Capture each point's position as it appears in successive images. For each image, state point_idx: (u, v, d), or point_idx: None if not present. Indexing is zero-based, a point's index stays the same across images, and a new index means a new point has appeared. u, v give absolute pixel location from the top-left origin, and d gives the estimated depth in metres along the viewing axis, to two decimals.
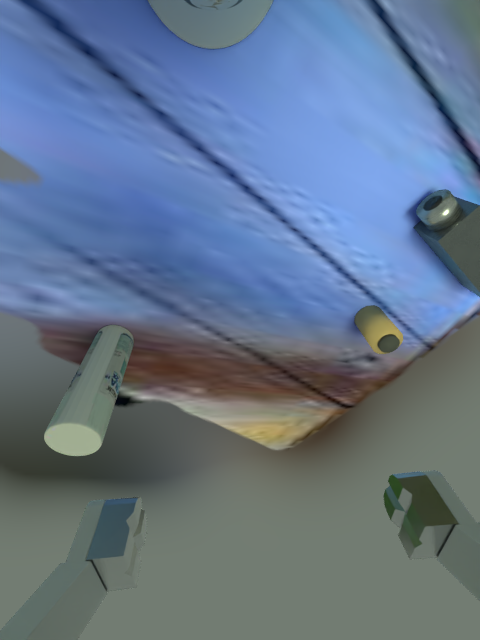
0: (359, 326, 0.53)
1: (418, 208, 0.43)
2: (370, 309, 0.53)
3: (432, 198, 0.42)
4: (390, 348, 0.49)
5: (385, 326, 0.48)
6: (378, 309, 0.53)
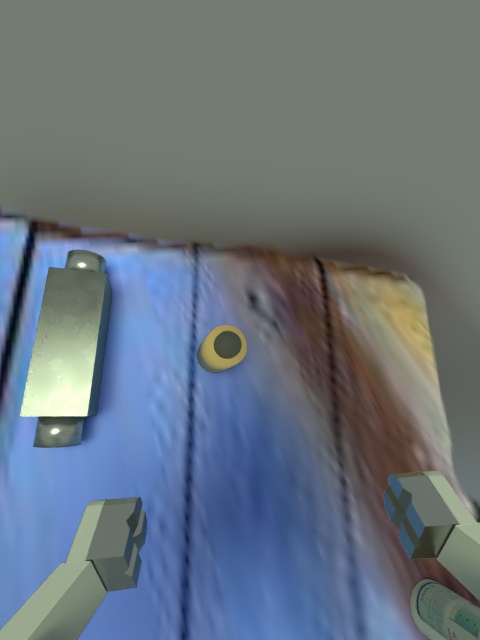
0: None
1: None
2: (205, 368, 0.41)
3: None
4: (231, 338, 0.36)
5: (212, 362, 0.36)
6: (199, 359, 0.41)
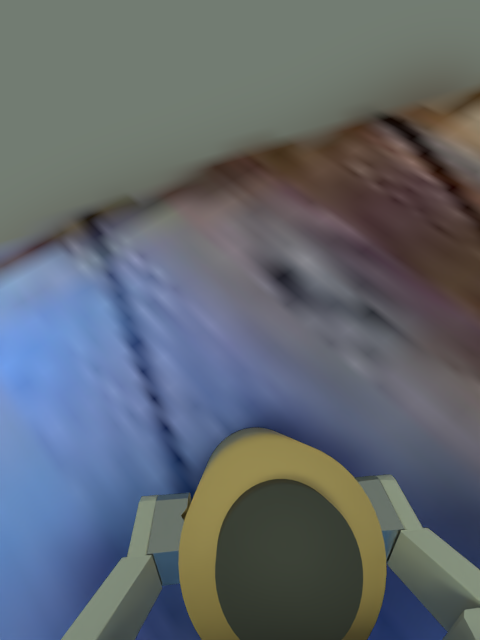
0: None
1: None
2: None
3: None
4: (289, 527, 0.07)
5: None
6: None
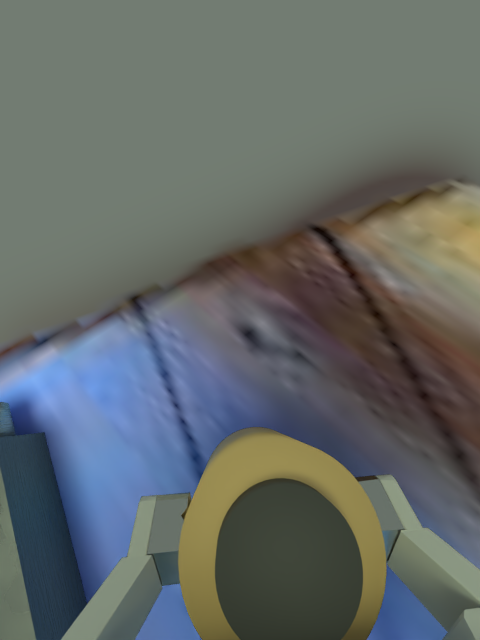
0: None
1: None
2: None
3: None
4: (289, 526, 0.07)
5: None
6: None
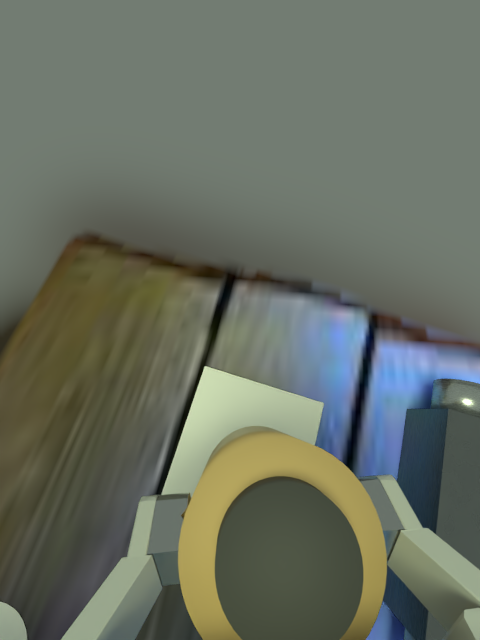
0: None
1: None
2: None
3: None
4: (289, 524, 0.07)
5: None
6: None
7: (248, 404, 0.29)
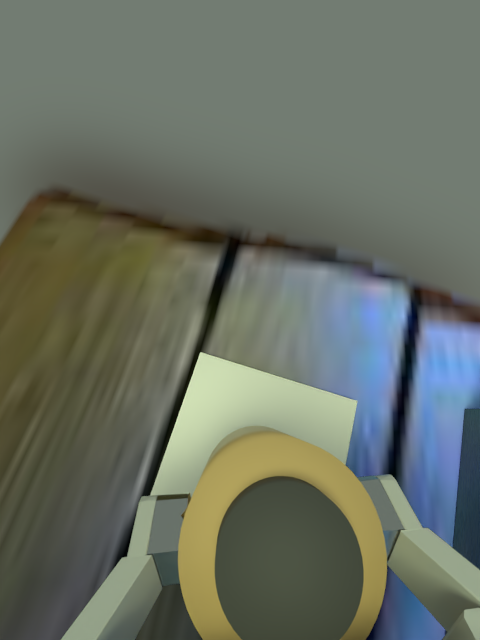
0: None
1: None
2: None
3: None
4: (289, 524, 0.07)
5: None
6: None
7: (257, 403, 0.22)
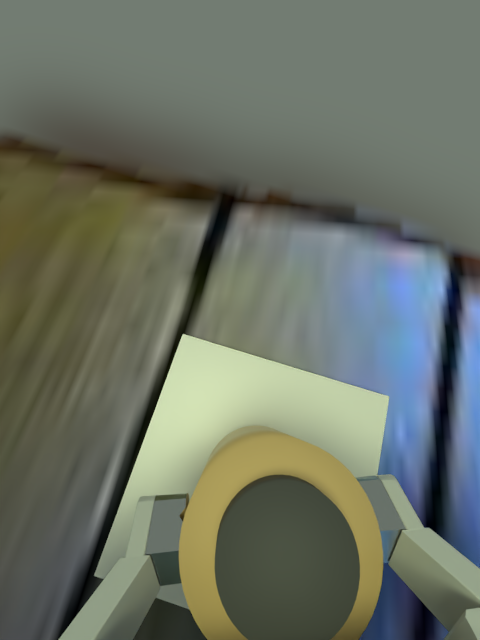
0: None
1: None
2: None
3: None
4: (287, 521, 0.07)
5: None
6: None
7: (258, 399, 0.17)
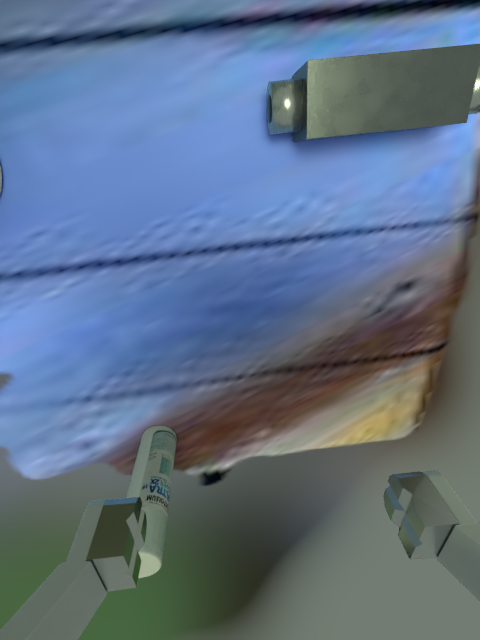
0: None
1: (268, 125, 0.33)
2: None
3: (267, 104, 0.31)
4: None
5: None
6: None
7: None
